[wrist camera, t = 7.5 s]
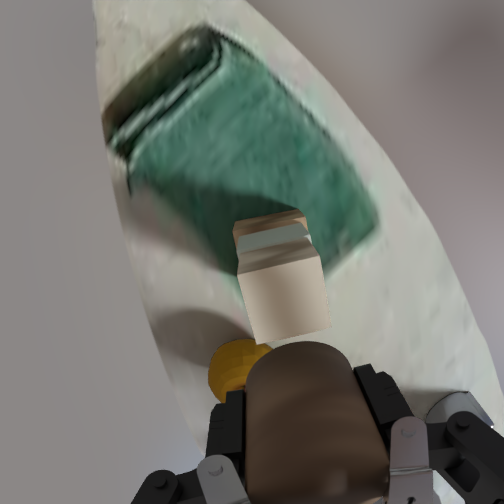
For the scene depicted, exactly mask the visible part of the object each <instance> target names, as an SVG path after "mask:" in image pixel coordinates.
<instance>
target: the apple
mask: <svg viewBox="0 0 504 504" xmlns="http://www.w3.org/2000/svg"><path fill="white" fill-rule="evenodd" d="M271 350H273V349H272V348H271V347H269V346H268V345H266V344H264V343H262V344H256V340H253V339H238V340H234V341H231V342H228V343H225V344H223V345H222V346H220V347H219V348H218V349H217V351H216V352H215V354H214V355H213V357H212V359H211V363H210V367H209V371H208V384H209V386H210V388H211V390H212V392H213V394H214V395H215V397H216V398H217V399H218V400H219V401H220V402H221V403H225V402H226V392H227V391H233V390H240V389H244V391H245V388H246V379H247V376H248V373H249V371H250V370H251V368H252V367H253V365H254V364H255V363H256V362H257V361H258V360H259V359H260V358H261V357H262V356H263V355H265V354H266V353H268V352H269V351H271Z"/></svg>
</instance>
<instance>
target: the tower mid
mask: <svg viewBox="0 0 504 504" xmlns="http://www.w3.org/2000/svg"><path fill="white" fill-rule="evenodd" d="M303 238H308V239H309V241H310V242H311V237H310V234H309V232H308V231H307V230H306V228H305V227H304V226H303V224H302V223H296V224H292V225H287V226H283V227H278V228H274V229H269V230H265V231H260V232H256V233H252V234H247V235H243V236H239V239H238V244H237V250H236V252H237V256H238V260H239V257H240V253H244V252H248V251H252V250H256V249H261V248H265V247H269V246H273V245H278V244H282V243H286V242H291V241H295V240H299V239H303ZM311 244H312V242H311Z"/></svg>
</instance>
